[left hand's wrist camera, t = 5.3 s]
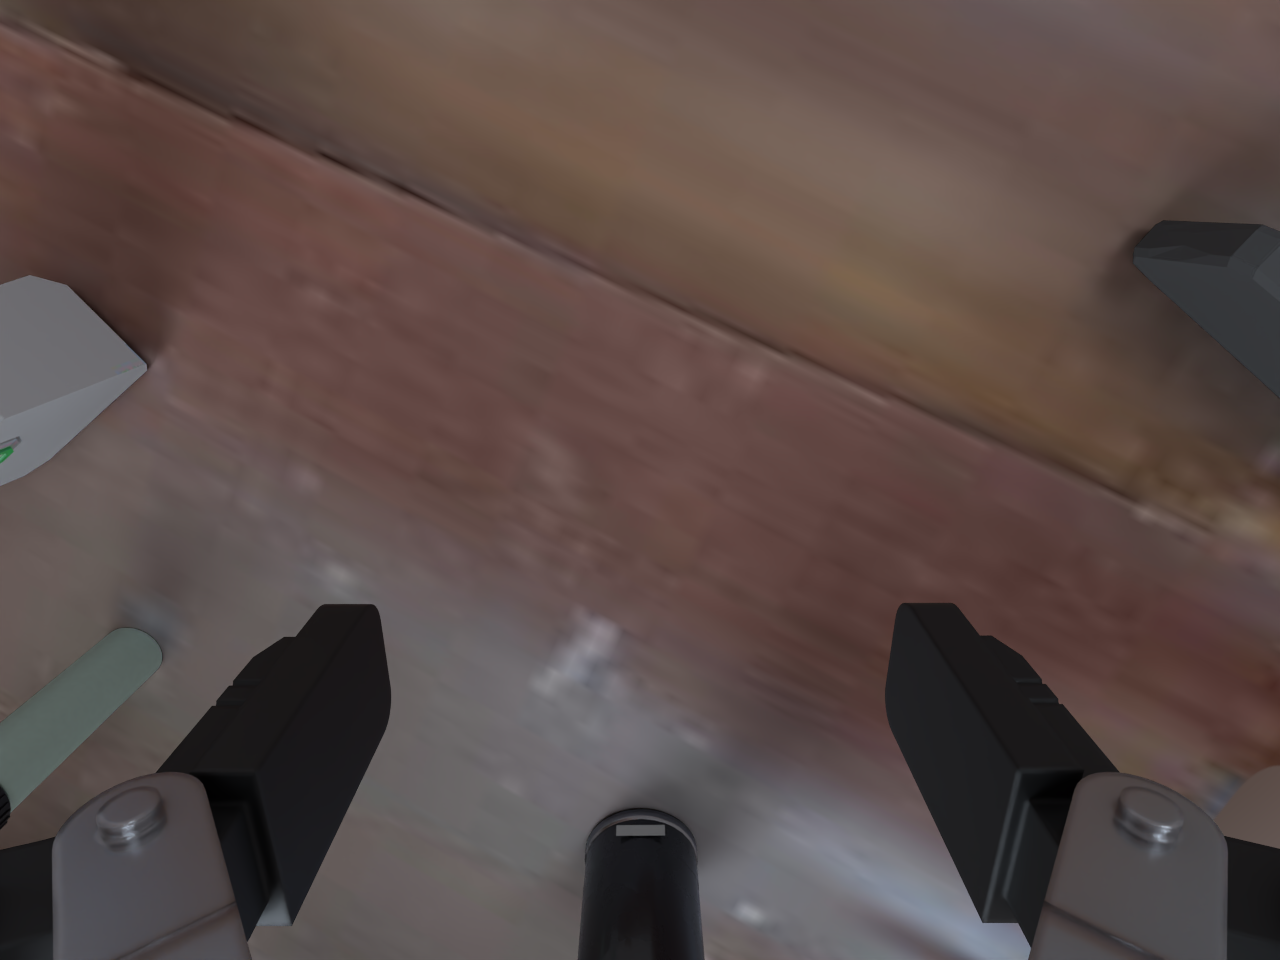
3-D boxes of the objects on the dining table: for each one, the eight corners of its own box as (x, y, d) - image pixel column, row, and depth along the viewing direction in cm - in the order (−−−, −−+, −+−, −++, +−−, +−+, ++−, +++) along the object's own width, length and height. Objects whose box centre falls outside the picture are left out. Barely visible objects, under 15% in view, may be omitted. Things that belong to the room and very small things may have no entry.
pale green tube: (170, 673, 56) (-7, 852, 40) (115, 677, 56) (-82, 856, 41) (152, 625, 54) (-39, 792, 39) (96, 629, 54) (-116, 797, 39)
